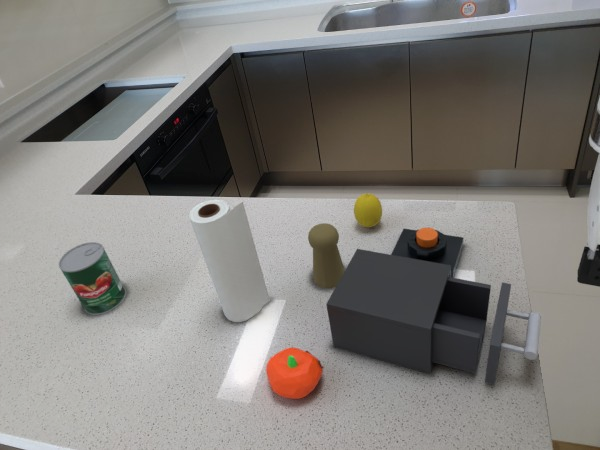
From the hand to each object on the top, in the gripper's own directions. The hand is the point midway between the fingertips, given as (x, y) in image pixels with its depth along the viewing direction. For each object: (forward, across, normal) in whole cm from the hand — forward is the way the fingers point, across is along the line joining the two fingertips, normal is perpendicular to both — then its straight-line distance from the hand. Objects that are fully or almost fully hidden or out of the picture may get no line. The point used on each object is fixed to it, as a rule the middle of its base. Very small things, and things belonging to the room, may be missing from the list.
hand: (593, 280), depth 51 cm
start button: (+14, +18, +22) cm, 32 cm away
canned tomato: (+18, -10, +76) cm, 79 cm away
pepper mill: (+18, +8, +37) cm, 42 cm away
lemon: (+18, +24, +35) cm, 46 cm away
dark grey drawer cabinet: (+17, 0, +23) cm, 29 cm away
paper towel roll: (+18, -4, +48) cm, 52 cm away
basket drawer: (+16, 0, +13) cm, 21 cm away
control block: (+17, +18, +22) cm, 34 cm away
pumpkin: (+18, -14, +33) cm, 40 cm away
